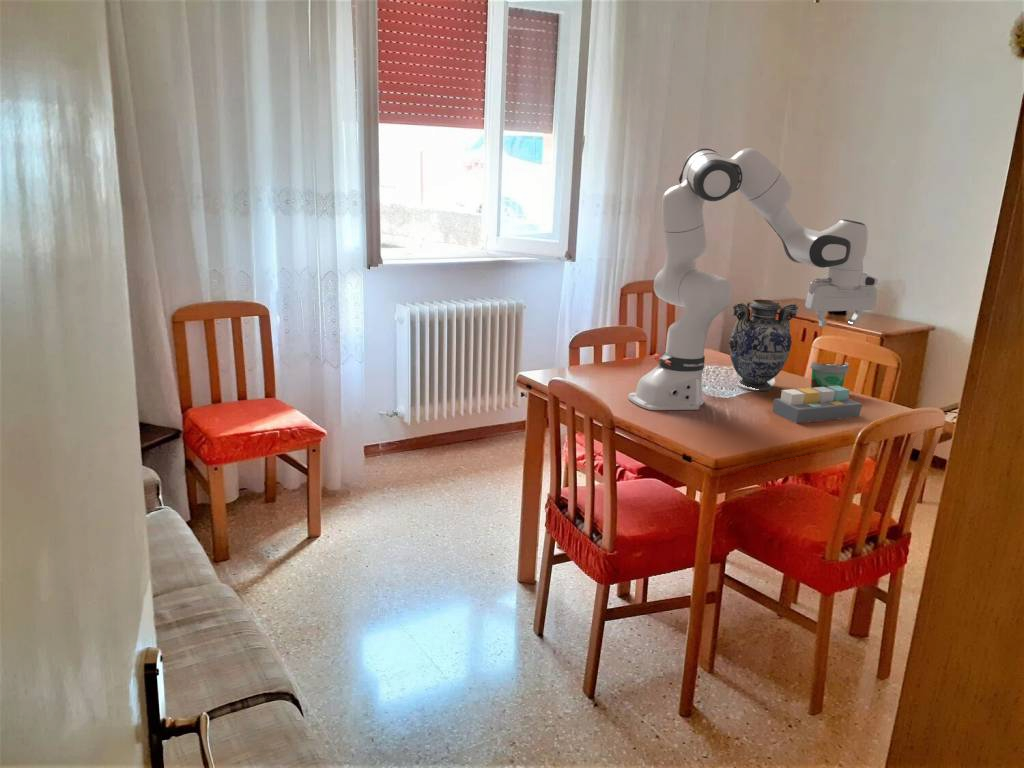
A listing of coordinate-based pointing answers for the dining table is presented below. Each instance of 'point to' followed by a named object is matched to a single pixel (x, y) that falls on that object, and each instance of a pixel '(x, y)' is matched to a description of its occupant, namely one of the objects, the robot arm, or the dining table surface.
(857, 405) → the keypad
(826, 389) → the grey key
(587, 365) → the dining table surface
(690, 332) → the robot arm
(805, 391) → the ochre key
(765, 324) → the decorative vase
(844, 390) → the teal key
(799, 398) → the cream key
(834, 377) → the food container
